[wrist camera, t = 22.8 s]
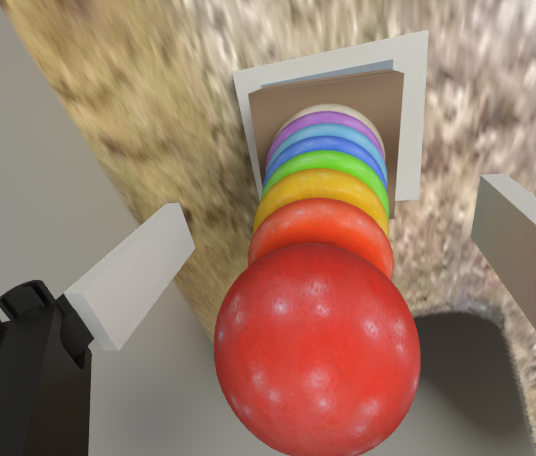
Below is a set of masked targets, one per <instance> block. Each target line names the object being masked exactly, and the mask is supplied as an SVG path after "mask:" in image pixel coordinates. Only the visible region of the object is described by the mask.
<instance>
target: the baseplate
mask: <svg viewBox="0 0 536 456" xmlns="http://www.w3.org/2000/svg"><path fill="white" fill-rule="evenodd" d="M428 34H429V30H425V31H420V32H415V33H411V34H406V35H401V36H397V37H392V38H388V39H383V40H378V41H374V42H369V43H364V44H360V45H355V46H350V47H346V48H341V49H336V50H332V51H327V52H322V53H318V54H313V55H309V56H304V57H299V58H295V59H290V60H285V61H281V62H276V63H271V64H267V65H262V66H257V67H253V68H248V69H243V70H239V71H234V72H232V74H233V79H234V83H235V88H236V93H237V97H238V102H239V107H240V111H241V116H242V121H243V126H244V130H245V135H246V140H247V144H248V149H249V154H250V158H251V163H252V168H253V172H254V177H255V182H256V187H257V191H258V196H259V201H260V200H261V195H262V182H261V176H260V169H259V163H258V156H257V150H256V143H255V137H254V130H253V124H252V117H251V111H250V104H249V98H248V94H249V93H251V92H254V91H256V90H259V89H261V88H264V87H266V86H269V85H276V84H283V83H290V82H297V81H304V80H312V79H319V78H326V77H333V76H341V75H348V74H355V73H362V72H370V71H377V70H384V69H392V70H395V71H399V72H402V73H404V84H403V98H402V111H401V125H400V138H399V152H398V165H397V179H396V193H395V201H403V200H417V199H419V190H420V173H421V155H422V138H423V121H424V103H425V86H426V68H427V51H428Z"/></svg>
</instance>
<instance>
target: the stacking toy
mask: <svg viewBox="0 0 536 456" xmlns="http://www.w3.org/2000/svg"><path fill="white" fill-rule="evenodd" d="M265 171H266V175H265V179H264V183H263V188H262V195H261V200H260V203H259V205H258V208H257V211H256V214H255V218H254V226H253V233H254V235H253V237H252V240H251V243H250V247H249V252H248V268H247V269H246V270H245V271H244V272H243V273H242V274H241V275H239V277H238V278H237V279H236V281H235V282H234V283H233V285H232V286H231V287H230V289H229V290H228V292H227V294H226V296H225V298H224V301H223V303H222V305H221V308H220V311H219V313H218V317H217V321H216V326H215V335H214V361H215V366H216V372H217V376H218V380H219V383H220V386H221V389H222V391H223V393H224V395H225V398H226V400H227V402H228V404H229V405H230V407H231V408H232V410H233V412H234V413H235V415H236V416H237V417H238V419H239V420H240V421H241V422H242V423H243V424H244V426H245V427H246V428H247V429H248V430H249V431H250V432H251V433H252V434H253V435H255V436H256V437H257V438H258V439H259V440H261V441H262V442H263V443H265V444H266V445H268V446H269V447H271V448H273V449H275V450H277V451H279V452H281V453H284V454H287V455H290V456H358V455H361V454H363V453H365V452H367V451H369V450H371V449H373V448H374V447H375V446H377V445H379V444H380V443H381V442H383V441H384V440H385V439H386V438H388V437H389V435H391V434H392V433H393V432H394V431H395V430H396V428H397V427H398V426H399V424H400V423H401V422H402V420H403V419H404V417H405V415H406V414H407V412H408V411H409V409H410V406H411V404H412V402H413V399H414V397H415V394H416V391H417V386H418V380H419V375H420V346H419V338H418V334H417V329H416V327H415V323H414V320H413V317H412V315H411V313H410V311H409V308H408V306H407V304H406V302H405V300H404V298H403V297H402V295H401V294H400V292H399V291H398V289H397V288H396V286H395V285H394V284H393V283H392V276H393V270H394V259H393V252H392V249H391V245H390V242H389V240H388V239H389V224H388V221H389V210H390V209H389V201H388V196H387V170H386V166H385V150H384V145H383V142H382V139H381V137H380V134H379V132H378V131H377V129H376V127H375V126H374V125H373V124H372V122H371V121H370V120H369V119H367V118H366V117H365V116H364V115H363V114H361V113H360V112H358V111H356V110H354V109H352V108H350V107H347V106H344V105H339V104H318V105H314V106H310V107H308V108H305V109H303V110H301V111H299V112H298V113H296V114H294V115H293V116H292V117H290V118H289V119H288V120H287V121H286V122H285V123H284V124H283V125H282V126H281V128H280V129H279V130H278V132H277V133H276V135H275V137H274V139H273V142H272V145H271V147H270V149H269V152H268V155H267V159H266V169H265Z"/></svg>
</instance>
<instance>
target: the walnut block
mask: <svg viewBox="0 0 536 456" xmlns="http://www.w3.org/2000/svg"><path fill="white" fill-rule="evenodd" d="M403 84H404V73H402V72H399V71H395V70H392V69H384V70H377V71H370V72H362V73H355V74H348V75H341V76H333V77H326V78H319V79H312V80H304V81H297V82H290V83H283V84H276V85H269V86H266V87H264V88H261V89H259V90H256V91H254V92H251V93H249V94H248V98H249V104H250V111H251V117H252V124H253V130H254V137H255V143H256V150H257V156H258V163H259V169H260V176H261V182H262V188H263V183H264V179H265V175H266V171H265V169H266V159H267V155H268V152H269V149H270V147H271V145H272V142H273V139H274V137H275V135H276V133H277V132H278V130H279V129H280V128H281V126H282V125H283V124H284V123H285V122H286V121H287V120H288V119H289V118H290V117H292V116H293V115H294V114H296V113H298V112H299V111H301V110H303V109H305V108H308V107H310V106H314V105H318V104H339V105H344V106H347V107H350V108H352V109H354V110H356V111H358V112H360V113H361V114H363V115H364V116H365V117H366V118H367V119H369V120H370V121H371V122H372V124H373V125H374V126H375V127H376V129H377V131H378V132H379V134H380V137H381V139H382V142H383V145H384V150H385V166H386V170H387V196H388V201H389V209H390V210H389V219H394V206H395V193H396V179H397V165H398V152H399V138H400V125H401V111H402V98H403Z"/></svg>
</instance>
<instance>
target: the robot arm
mask: <svg viewBox="0 0 536 456" xmlns="http://www.w3.org/2000/svg"><path fill="white" fill-rule="evenodd" d="M471 238H472V239H473V240H474V242H475V243H476V245H477V246H478V248H479V249H480V251H481V252H482V253H483V255H484V256H485V258H486V259H487V261H488V262H489V263H490V265H491V266H492V268H493V269H494V271H495V272H496V274H497V275H498V276H499V278H500V279H501V281H502V282H503V284H504V285H505V286H506V288H507V289H508V291H509V292H510V294H511V295H512V297H513V298H514V299H515V301H516V302H517V304H518V305H519V307H520V308H521V309H522V311H523V312H524V314H525V315H526V317H527V318H528V320H529V321H530V322H531V324H532V325H533V327H534V328H535V330H536V197H535V196H534V195H533V194H531V193H530V192H529V191H527V190H526V189H525V188H523V187H522V186H521V185H519V184H518V183H517V182H515V181H514V180H513V179H511V178H510V177H509V176H507V175H506V174H505V173H501V174H490V175H481V177H480V183H479V189H478V195H477V202H476V208H475V214H474V220H473V226H472V233H471ZM194 249H195V246H194V243H193V240H192V237H191V234H190V232H189V229H188V226H187V223H186V220H185V218H184V215H183V212H182V209H181V207H180V204H179V203H169V204H165V205H164V206H163V207H162V208H160V209H159V210H158V211H157V212H156V213H155V214H154V215H152V216H151V217H150V218H149V219H148V220H147V221H145V222H144V223H143V224H142V225H141V226H140V227H139V228H137V229H136V230H135V231H134V232H133V233H132V234H131V235H130V236H128V237H127V238H126V239H125V240H124V241H123V242H121V243H120V244H119V245H118V246H117V247H116V248H114V250H112V251H111V252H110V253H109V254H108V255H106V256H105V257H104V258H103V259H102V260H101V261H99V262H98V263H97V264H96V265H95V266H94V267H92V268H91V269H90V270H89V271H88V272H87V273H86V274H85V275H83V276H82V277H81V278H80V279H79V280H77V281H76V282H75V283H74V284H73V285H72V286H71V287H69V288H68V289H67V290H66V291H65V292H64V293H63V294H62V295H61V296H60V297H59V298H58V299H57V300H55V299H54V297H53V296H52V294H51V293H50V292H49V290H48V288H47V287H46V286H45V284H44V283H43V281H41V280H32V281H29V282H26V283H23V284H21V285H18V286H16V287H14V288H13V289H11V290H9V291H7V292H6V293H5V294H4V295H2V296H1V297H0V308H1V309H2V310H3V312H4V313H5V314H6V315H7V317H8V318H9V319H10V321H6V322H3V323H2V322H1V320H0V456H88V443H89V417H90V388H91V361H92V360H91V359H92V354H91V351H90V349H89V348H88V345H89V344H90V343H91V342H92V340H93V339H94V340H95V341H96V343H97V344H98V346H99V347H100V349H101V350H104V351H119V350H120V349H121V348H122V346H123V345H124V344H125V342H126V341H127V340H128V338H129V337H130V336H131V334H132V333H133V331H134V330H135V329H136V328H137V326H138V325H139V324H140V322H141V321H142V319H143V318H144V317H145V315H146V314H147V313H148V311H149V310H150V309H151V307H152V306H153V305H154V303H155V302H156V301H157V299H158V298H159V297H160V295H161V294H162V293H163V291H164V290H165V289H166V287H167V286H168V284H169V283H170V282H171V280H172V279H173V278H174V276H175V275H176V274H177V272H178V271H179V270H180V268H181V267H182V266H183V264H184V263H185V262H186V260H187V259H188V258H189V256H190V255H191V254H192V252H193V251H194Z"/></svg>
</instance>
